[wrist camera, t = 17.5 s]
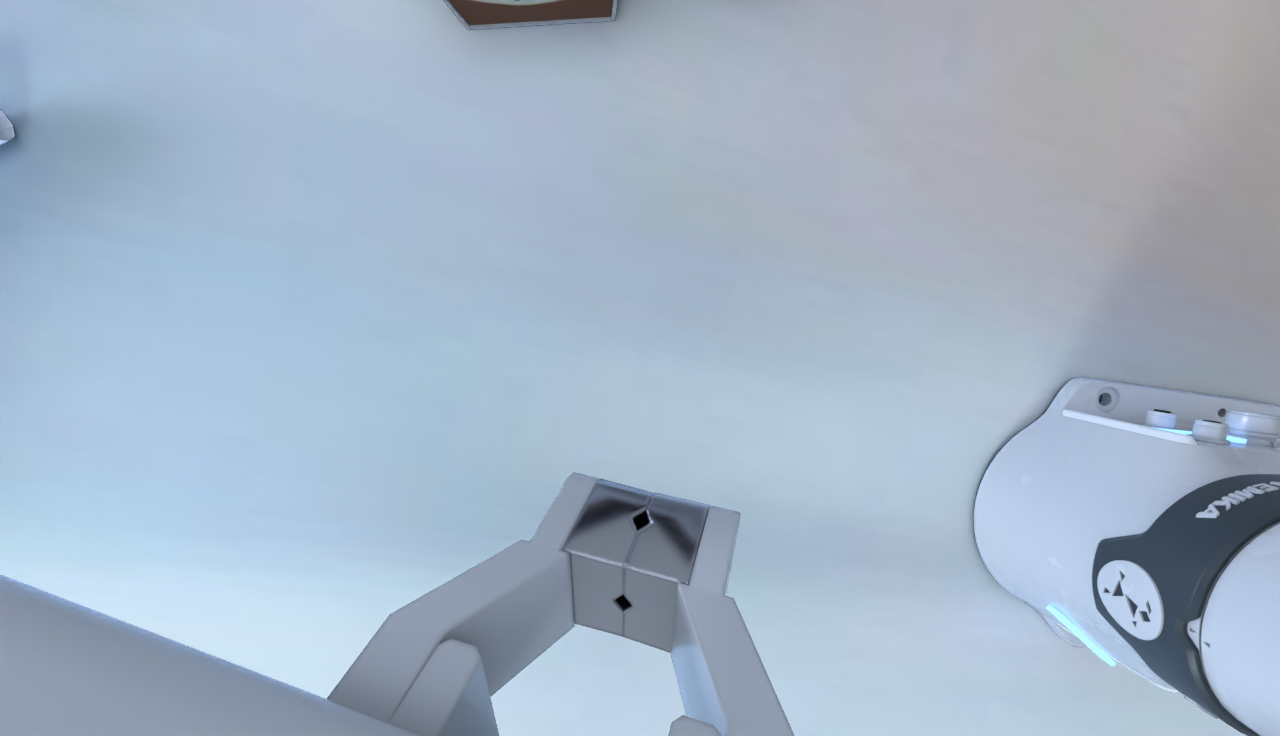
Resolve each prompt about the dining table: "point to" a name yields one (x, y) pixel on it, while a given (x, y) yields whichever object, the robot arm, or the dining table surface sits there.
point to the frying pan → (5, 129)
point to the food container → (530, 12)
